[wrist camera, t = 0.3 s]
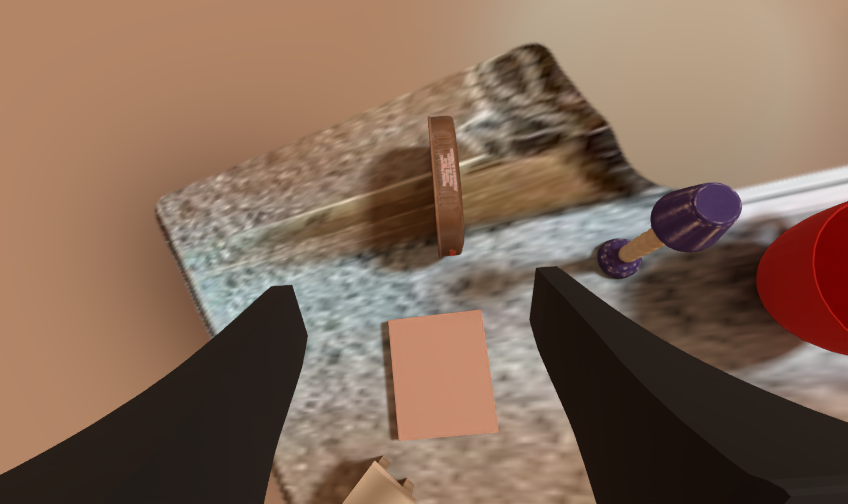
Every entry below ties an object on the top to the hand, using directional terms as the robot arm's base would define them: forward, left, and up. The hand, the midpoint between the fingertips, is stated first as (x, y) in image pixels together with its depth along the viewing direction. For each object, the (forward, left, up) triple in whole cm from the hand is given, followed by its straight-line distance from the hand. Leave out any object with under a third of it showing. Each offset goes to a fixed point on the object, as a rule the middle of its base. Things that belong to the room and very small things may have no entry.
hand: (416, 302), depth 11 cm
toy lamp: (+5, -18, -30) cm, 35 cm away
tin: (+14, -1, -30) cm, 33 cm away
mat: (-5, +2, -30) cm, 30 cm away
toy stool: (-16, +9, -30) cm, 35 cm away
